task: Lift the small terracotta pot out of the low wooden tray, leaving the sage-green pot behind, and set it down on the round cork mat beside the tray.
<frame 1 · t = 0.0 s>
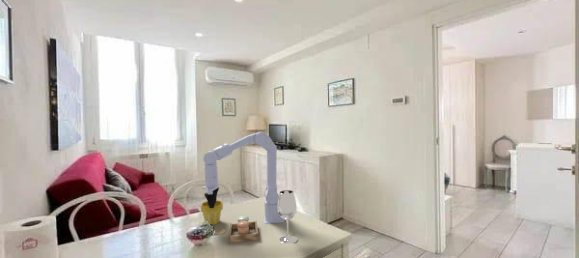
hand: (212, 205, 127), 10 cm above the table, tool pointing down, fingers open, 7 cm apart
cork mat: (217, 232, 120), on the table
terracotta pot: (243, 237, 114), resting on wooden tray
sage pot: (243, 231, 120), resting on wooden tray
wooden tray: (243, 235, 117), on the table
wineglass: (288, 240, 110), on the table
plant pot: (212, 223, 132), on the table
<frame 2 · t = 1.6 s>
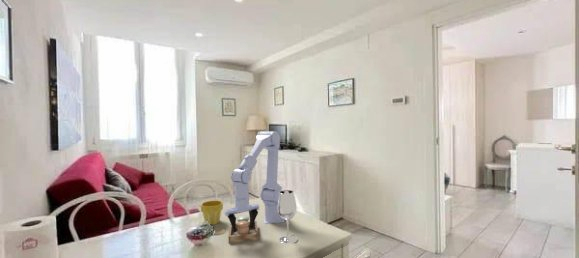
hand: (243, 229, 113), 4 cm above the table, tool pointing down, fingers open, 7 cm apart
nothing on the table moved.
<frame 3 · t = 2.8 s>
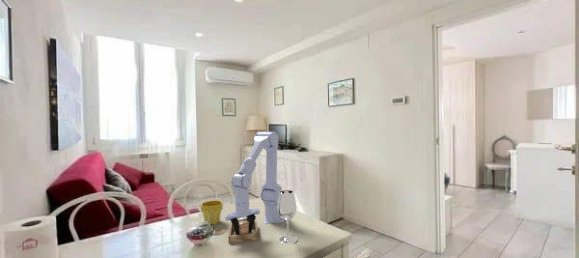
hand: (243, 233, 114), 2 cm above the table, tool pointing down, fingers closed on terracotta pot, 5 cm apart
terracotta pot: (243, 237, 114), resting on wooden tray, touching gripper
everything else where it was.
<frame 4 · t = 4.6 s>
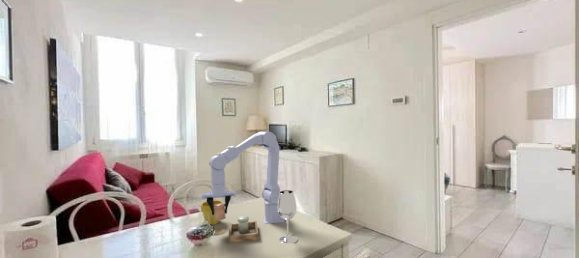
hand: (219, 213, 119), 9 cm above the table, tool pointing down, fingers closed on terracotta pot, 5 cm apart
terracotta pot: (220, 218, 118), point 7 cm above the table, touching gripper
everything else where it was.
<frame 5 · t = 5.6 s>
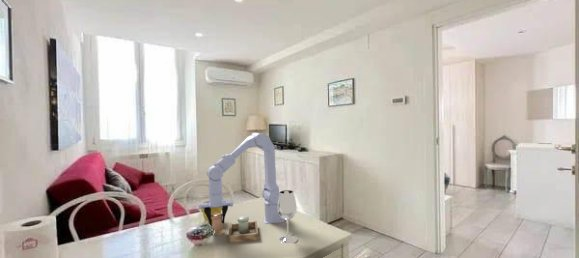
hand: (217, 223, 120), 4 cm above the table, tool pointing down, fingers closed on terracotta pot, 5 cm apart
terracotta pot: (217, 228, 120), point 2 cm above the table, touching gripper
everything else where it was.
when the fingers open (3 cm above the table, at t = 6.3 s): terracotta pot stays where it is, resting on cork mat.
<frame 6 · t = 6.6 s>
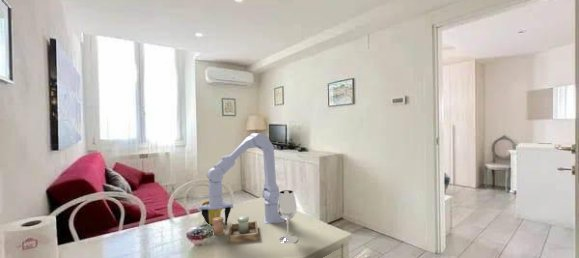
hand: (217, 225, 120), 3 cm above the table, tool pointing down, fingers open, 7 cm apart
terracotta pot: (218, 232, 120), resting on cork mat
everything else where it was.
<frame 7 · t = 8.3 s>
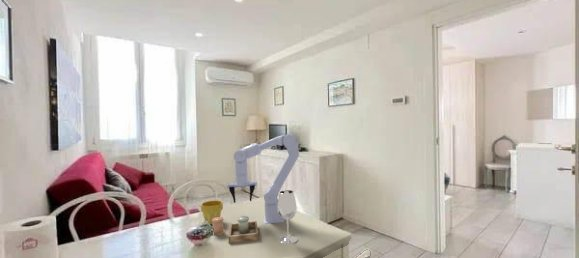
hand: (242, 201, 132), 10 cm above the table, tool pointing down, fingers open, 7 cm apart
nothing on the table moved.
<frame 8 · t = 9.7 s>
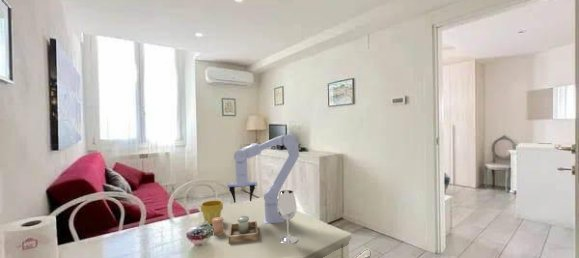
hand: (242, 201, 133), 10 cm above the table, tool pointing down, fingers open, 7 cm apart
nothing on the table moved.
at the end: terracotta pot 0.6 cm from the cork mat (horizontally); terracotta pot tilted 0°; terracotta pot resting on cork mat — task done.
